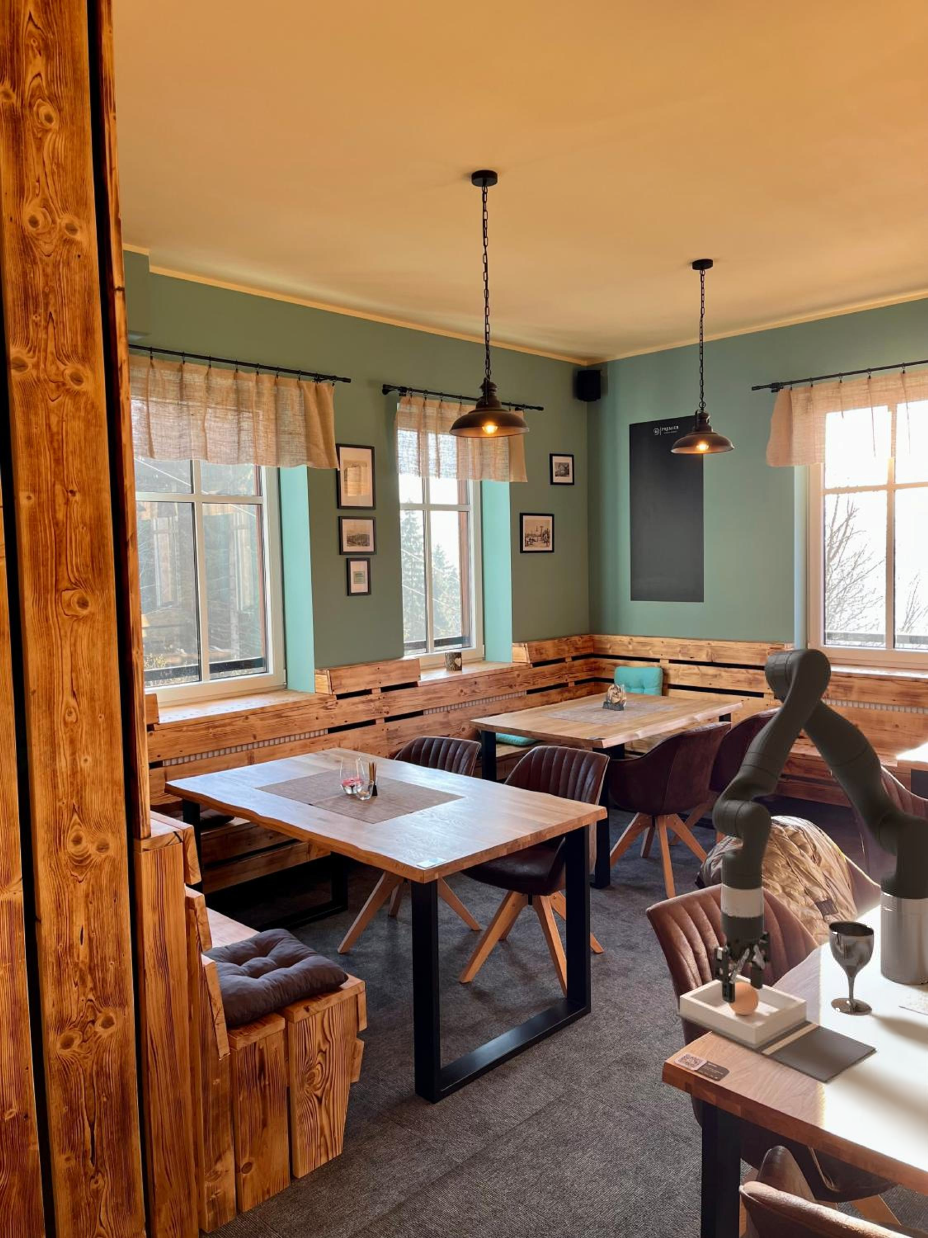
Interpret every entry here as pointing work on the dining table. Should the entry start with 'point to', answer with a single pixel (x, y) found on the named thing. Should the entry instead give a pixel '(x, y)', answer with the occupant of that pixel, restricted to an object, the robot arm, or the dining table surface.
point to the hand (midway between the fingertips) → (742, 994)
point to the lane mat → (811, 1050)
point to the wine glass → (851, 959)
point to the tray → (752, 1029)
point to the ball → (744, 999)
